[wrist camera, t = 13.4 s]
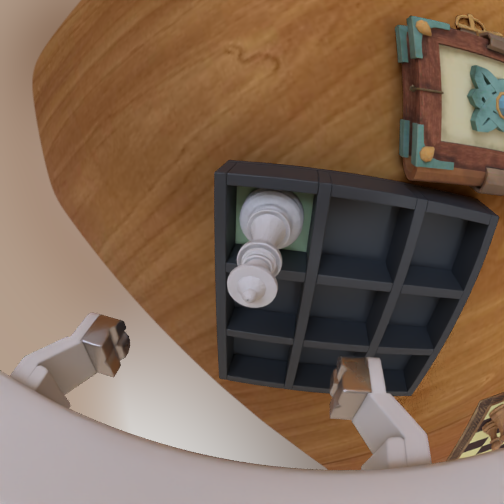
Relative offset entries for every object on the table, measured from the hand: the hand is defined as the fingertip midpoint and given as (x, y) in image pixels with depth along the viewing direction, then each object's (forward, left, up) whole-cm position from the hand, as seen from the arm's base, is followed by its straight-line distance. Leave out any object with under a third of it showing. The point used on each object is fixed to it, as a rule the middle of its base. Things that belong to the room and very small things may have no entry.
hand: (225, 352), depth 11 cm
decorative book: (+17, +12, -14) cm, 25 cm away
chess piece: (0, 0, -13) cm, 13 cm away
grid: (+7, -6, -14) cm, 17 cm away
